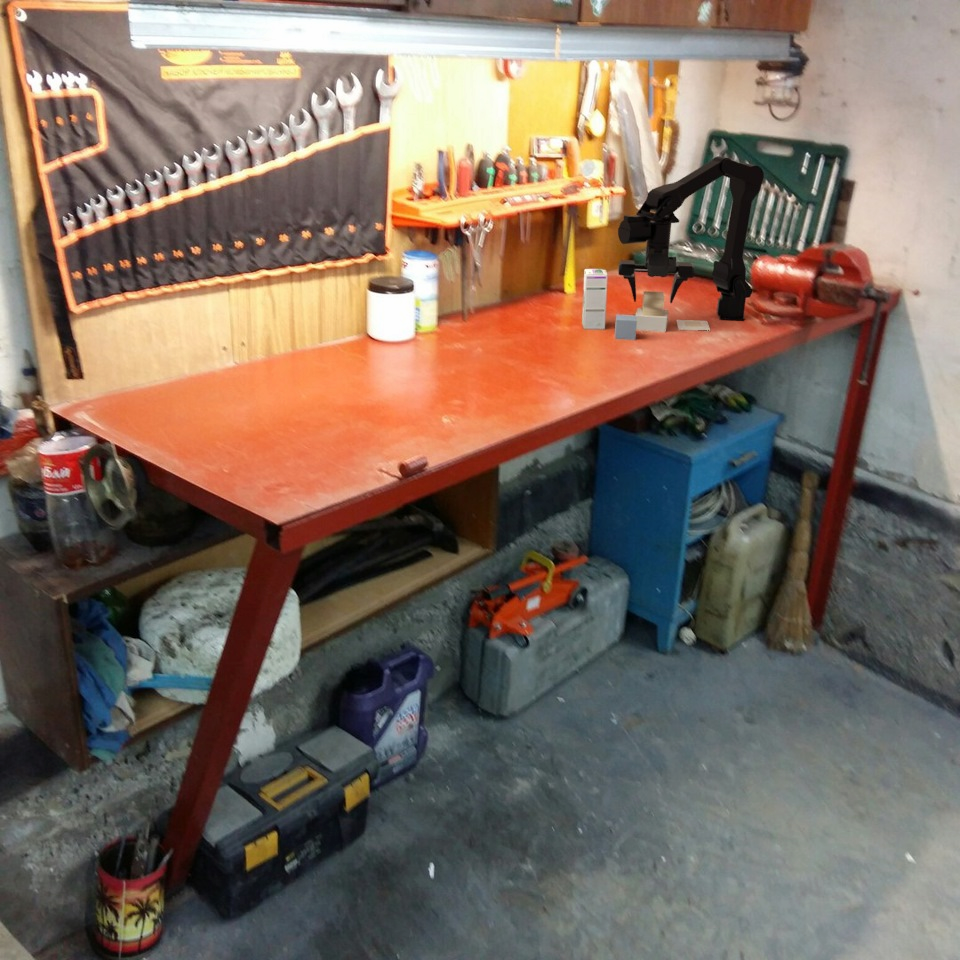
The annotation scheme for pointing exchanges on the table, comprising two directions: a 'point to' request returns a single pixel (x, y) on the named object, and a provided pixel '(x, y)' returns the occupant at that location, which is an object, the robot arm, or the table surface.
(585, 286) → the syrup box
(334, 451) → the table surface
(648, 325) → the base block
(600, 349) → the table surface
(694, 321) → the tile
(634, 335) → the slate-blue cube
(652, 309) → the birch cube
